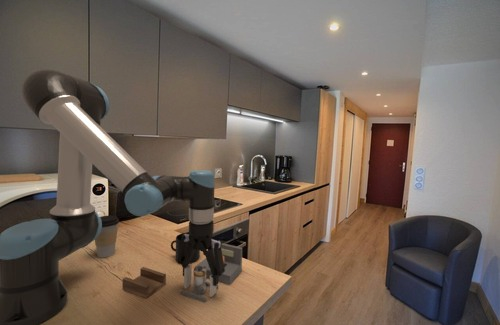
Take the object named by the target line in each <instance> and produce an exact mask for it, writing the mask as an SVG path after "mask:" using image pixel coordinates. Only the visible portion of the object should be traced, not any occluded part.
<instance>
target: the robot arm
mask: <svg viewBox="0 0 500 325" xmlns="http://www.w3.org/2000/svg"><path fill="white" fill-rule="evenodd" d="M21 93H22V98H23V100H24V102H25V104H26V106H27V107H28V108H29V109H30V111H31V113H33V114H34V115H35V116H36V117H37V118H38V119H39V120H40V121H41V122H42V123H44V124H46V125H51V126H53V127H54V129H56V130H57V131H58V132H59V141H58V142H59V144H58V145H59V147H58V166H57V182H56V183H57V185H56V205H54V206H53V207H51V209H50V210H49V214H48V216H49V218H39V219H32V220H29V221H24V222H20V223H18V224H15V225H12V226H11V227H8V228H7V229H5V230H3V231H2V232H1V233H0V325H40V324H42V323H44V322H46V321H48V320H50V319H51V318H53V317H55V316H56V315H57V314H59V312H61V311H62V310H63V308H64V307H65V306H66V305H67V303H68V291H67V289H66V287H65V285H64V283H63V281H62V279H61V277H60V274H59V272H60V271H59V269H60V267H59V265H60V264H59V262H60V260H62V259H64V258H66V257H68V256H69V255H72V254H73V253H75V252H78V250H80V249H83V248H86V247H88V246H89V244H91V243H92V242H95V239H96V238H97V237H98V235H99V234H100V232H101V228H102V221H101V218H100V217H101V216H99V214H98V212H97V211H96V207H95V206H94V205H93V204H92V203H91V193H92V191H91V190H92V179H93V178H92V175H93V166H94V167H95V168H97V170H98V171H100V172H101V174H103V175H104V176H105V177H106V178H107V179H108V181H110V182H111V183H112V185H114V186H115V187H116V188H117V189H118V190H119V191H120V192H121V193H122V194H123V195H124V204H125V207H126V209H127V211H128V212H129V213H130V214H132V215H134V216H136V217H145V216H149V215H151V214H154V213H156V212H158V211H159V210H160V209H161V208H162V207H165V206H166V205H168V204H170V203H171V202H174V201H175V202H188V221H189V222H188V232H189V234H188V233H187V232H185V233H186V234H184V235H182V236H181V247H180V252H179V256H178V261H176V262H177V265H181V267H182V276H183V277H184V278H183V288H184V290H185V289H188V288H189V287H191V285H192V273H193V271H192V268H193V267H192V263H191V259H192V257H193V255H194V253H195V251H196V250H200V252H202V254H203V255H204V256H205V258H206V259H207V262H208V264H209V267H210V270H211V273H212V275H210V279H209V282H210V287H209V297H210V298H212V297H213V296H214V295H215V294H216V293H217V289H216V285H219V283H220V282H219V276H221V275H222V274H223V273H224V272H225V268H224V262H223V256H222V250H221V246H222V243H223V241H222V240H217V239H214V236H213V235H214V216H215V214H214V212H215V207H214V206H215V205H214V204H215V185H216V184H215V174H214V172H213V171H211V170H204V169H203V170H202V169H201V170H199V169H197V170H191V171H190V172H189V175H188V176H177V175H166V174H165V175H164V174H163V175H153V176H151V174H149V173H148V172H147V170H145V169H144V168H143V167H142V166H141V165H140V164H139V163H138V162H137V161H136V160H135V159H134V158H133V157H132V156H131V155H130V154H129V153H128V152H127V151H126V150H125V149H124V148H123V147H122V146H121V145H120V144H119V143H118V142H116V140H115V139H114V138H112V136H110V135H109V134H108V133H107V132H106V131H105V130H104V128H102V127H101V124H102V123H101V121H102V120H103V119H104V118H105V117H106V116H108V114H109V111H110V101H109V98H108V96H107V93H106V92H105V91H104V90H103V89H102V88H101V87H99V86H97V85H96V84H94V83H92V82H90V81H86V80H83V79H81V78H78V77H75V76H72V75H69V74H66V73H65V72H62V71H58V70H55V69H40V70H37V71H34V72H32V73H30V74H29V75H28V76H27V77H25V79H24V80H23V83H22V86H21ZM189 240H190V242H191V245H190V248H189V251H188V253H187V249H188V244H189ZM212 244H213V248H214V254H213V248H212V246H211V245H212ZM186 254H187V255H186ZM214 256H215V257H214Z"/></svg>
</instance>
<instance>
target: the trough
mask: <svg viewBox="0 0 500 325" xmlns="http://www.w3.org/2000/svg"><path fill="white" fill-rule="evenodd" d="M166 274H167V273H163V272H160V271H157V270H155V269H151V268H149V267H148V268H147V267H144V266H142V267H141V268H140V274H139V275H138V276H137V277H135V278H134V279H133V278H130V277H127V276H125V277H123V278H122V280H121V281H122V285H121V286H122V290H124V291H126V292H128V293H131V294H134V295H136V296H139V297H141V298H144V299H148V298H149V297H151V295H153V294H154V293H155V292H157V291H159V290H160V289H162V287H164V286H165V285H166V284H167V275H166Z"/></svg>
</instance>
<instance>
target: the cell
mask: <svg viewBox="0 0 500 325" xmlns="http://www.w3.org/2000/svg"><path fill="white" fill-rule="evenodd" d="M192 273H193V281H192V282H193V287H192V288H193V292H192V293H195V294H198V295H201V296H203V295H204V294H205V293H206V292H207V286H206V281H207V279H208V278H207V268H206V267H205V266H197V267H195V266H194V268H193V272H192Z"/></svg>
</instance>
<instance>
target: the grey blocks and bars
mask: <svg viewBox="0 0 500 325" xmlns="http://www.w3.org/2000/svg"><path fill="white" fill-rule="evenodd" d="M211 246H212V248H213V244H212V245H211ZM221 250H222V255H223V256H224V268H225V272H224V273H223V274H222V275H221V276H219V283H222V284H225V285H228V286H231V285H232V283H233V282H234V281H235V279H236V278H237V277H238V276H239V275H240V274H241V273H242V272H243V271H242V270H243V269H242V268H243V247H240V246H236V245H233V244H227V243H223V242H222V246H221ZM213 254H214V248H213ZM197 266H205V267H206V268H207V278H206V279H209V280H210V275H212V273H211V270H210V267H209V264H208V262H207V259H206V257H205V258H204V259H202V260H201V261H200V262H199V263H197V264H196V265H195V266H194V268H195V267H197ZM206 287H207V288H210V281H208V280H206ZM218 289H219V284H217V285H216V290H218ZM179 291H180V293H179V294H180V295H183V296H186V297H189V298H191V299H194V300H197V301H200V302H202V303H206V302H207V296H204V295H198V294H195V293H193V292H191V291H189V290H185V289H183V288H181V290H179Z"/></svg>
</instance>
